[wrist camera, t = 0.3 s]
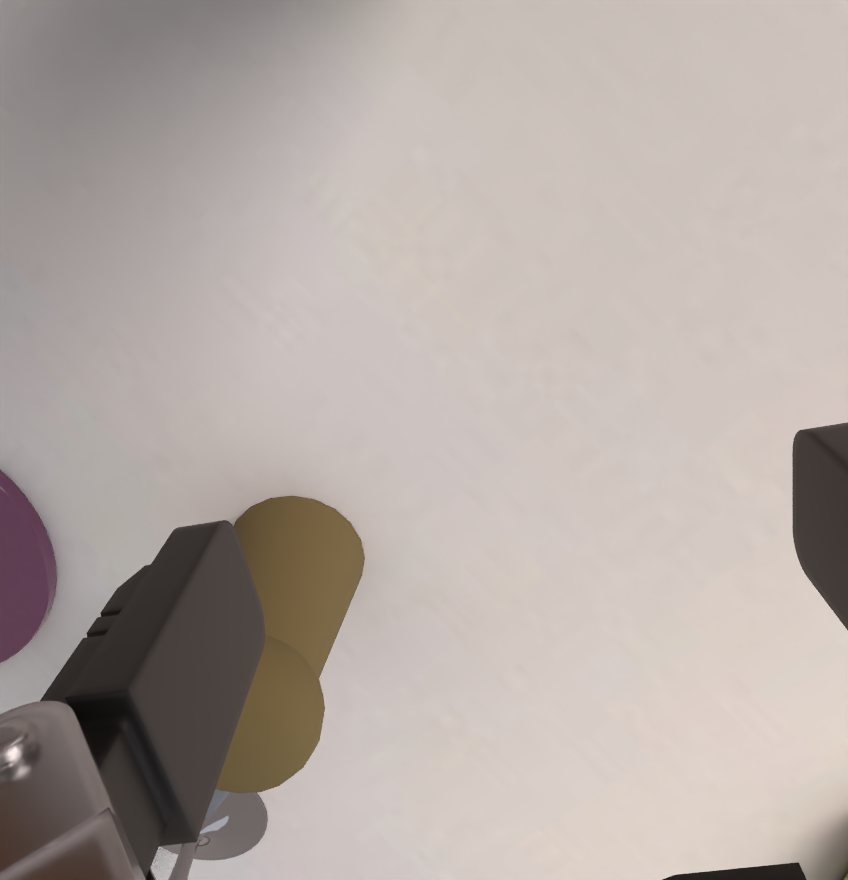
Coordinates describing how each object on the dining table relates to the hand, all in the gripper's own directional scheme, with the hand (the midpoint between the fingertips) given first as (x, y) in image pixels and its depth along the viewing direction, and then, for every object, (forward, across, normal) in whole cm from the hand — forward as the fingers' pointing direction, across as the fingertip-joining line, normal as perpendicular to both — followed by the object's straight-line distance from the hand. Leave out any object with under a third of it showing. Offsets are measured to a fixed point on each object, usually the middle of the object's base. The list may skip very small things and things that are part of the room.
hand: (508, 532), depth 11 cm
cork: (+19, +10, +11) cm, 24 cm away
